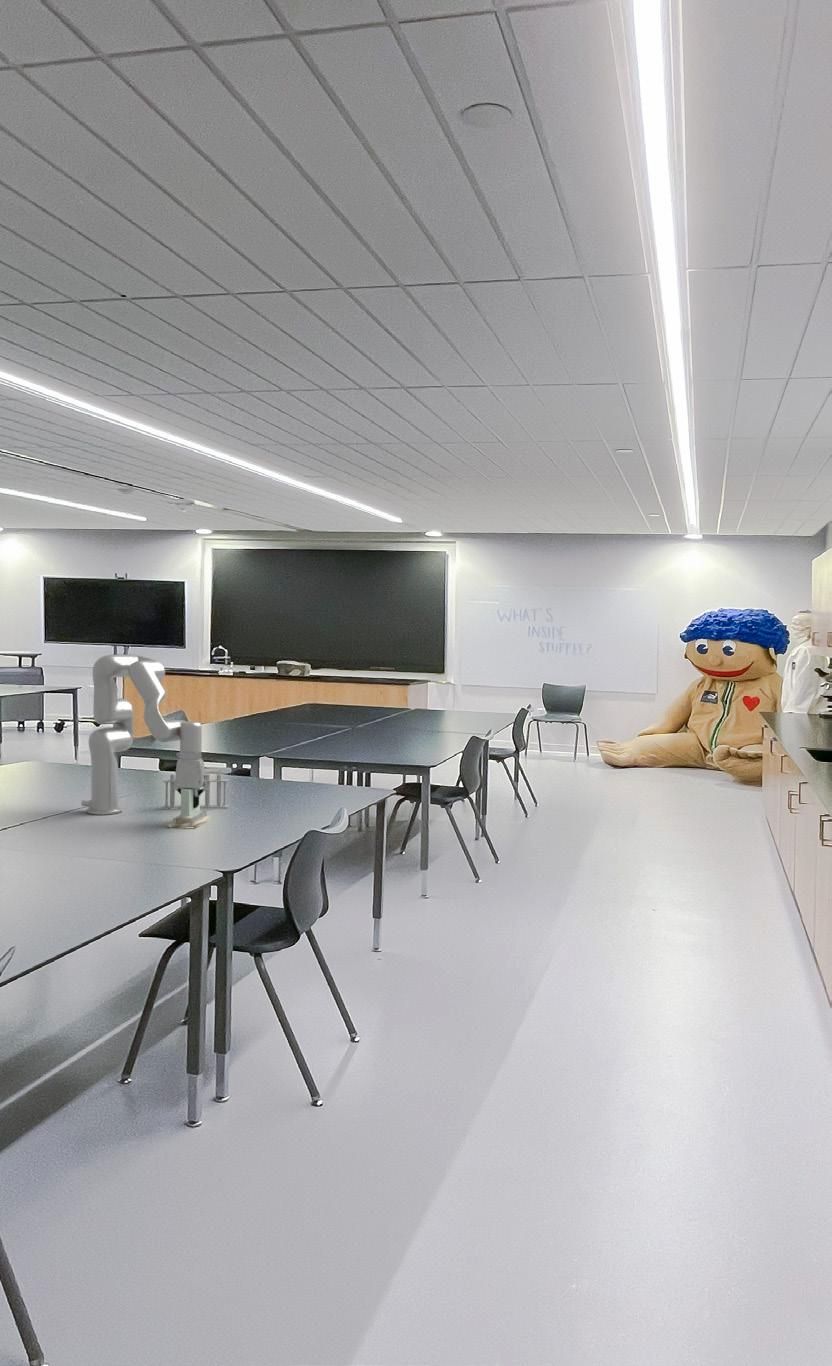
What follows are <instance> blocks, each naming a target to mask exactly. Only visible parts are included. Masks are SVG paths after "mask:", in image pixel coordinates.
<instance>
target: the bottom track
mask: <svg viewBox="0 0 832 1366" xmlns="http://www.w3.org/2000/svg"><path fill="white" fill-rule="evenodd" d="M207 813H208V811H206V810H204V811H202V812H200V813H198V814H196V815H190V816H181V814H179V815H177V816H175V817H173V818H172V821H171V822H170V823H169V824H167V827H168V826H171V827H194V828H196V827H197V828H199V827H200V826H199V825H201V824H202V825H204V824H205V823H204V822H206V821H207V822H209V821H210V819H211V818H212V816H209V815H207ZM208 820H209V821H208ZM211 820H212V819H211ZM207 822H206V823H207ZM203 823H204V824H203ZM202 825H201V826H202ZM198 826H199V827H198ZM197 828H196V829H197Z"/></svg>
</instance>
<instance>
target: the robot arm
mask: <svg viewBox="0 0 832 1366" xmlns="http://www.w3.org/2000/svg"><path fill="white" fill-rule="evenodd" d="M165 675H166V670H165V666H164V665H163V664H162V662H160V661H158V660H156V659H152V658H150V657H145V656H141V655H138V654H132V653H131V654H129V653H128V654H125V653H124V654H120V653H119V654H107V655H103V656H101V657H99V658H98V659H97V660H96V661H95V663H94V664H93V666H92V682H93V705H92V706H93V707H92V708H93V711H92V712H93V714H92V715H93V720H94V721H95V722H96V724H98V725H102V726H104V725H112V727H103V728H98V729H96V730H93V732H92V733H91V734H90V736H89V737H88V747H89V753H90V763H91V767H90V768H91V770H90V771H91V774H90V775H91V776H90V777H91V781H90V782H91V785H90V786H91V787H90V788H91V791H90V792H91V795H90V797H91V799H89V800H85V799H83V800H81V802H80V803H81V806H82V807H88V808H87V809H86V813H87V814H91V815H99V816H101V815H104V816H105V815H113V814H114V815H115V814H119V813H122V812H123V808H122V807H121V806H119V796H118V795H119V793H118V792H119V768H118V767H119V765H118V760H117V758H116V756H115V753H120V752H125V751H128V750H129V749H130V748H131V747H132V745H133V743H134V742H133V740H134V723H135V722H134V717H135V713H134V708H133V705H132V704H131V702H130V701H129V700H127V699H126V698H121V697H119V698H118V692H119V691H118V686H117V683H116V680H115V679H114V678H130V680H131V683H132V684H133V685H134V687H135V689H136V691H137V692H138V695H139V696H140V698H141V700H142V701H143V703H144V707H143V719H144V723H145V726H146V727H147V729H148V730H149V732H150V734H151V735H152V737H153V738H154V739H155V740H157V742H159V743H160V742H161V743H168V742H177V741H179V752H176V753H175V756H176V757H178V758H179V759H177V761H176V768H175V783H174V785H173V789H175V792H176V791H177V793H179V795H181V790H183V789H185V788H191V789H194V793H195V795H194V798H193V807H194V808H196V807H198V805H199V796H200V797H201V795H202V794H203V793H205V791H206V790H208V789H209V787H208V785H207V783H206V775H205V774H206V768H205V767H206V766H205V763H204V762H205V761H204V760H203V759H202V752H203V751H202V750H203V749H202V747H203V746H202V744H203V743H202V738H203V737H202V734H203V733H202V728H203V727H202V724H201V722H200V721H193V720H192V721H190V720H189V721H186V720H184V719H171V720H164V718H163V716H162V714H161V712H160V710H159V704H160V703H161V702H162V701H164V699H165V698H166V696H167V691H166V690H165V688H164V686H163V685H162V683H161V682H162V681H163V680H164V678H165Z"/></svg>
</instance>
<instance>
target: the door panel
mask: <svg viewBox="0 0 832 1366" xmlns="http://www.w3.org/2000/svg"><path fill="white" fill-rule="evenodd" d="M194 795H195V793H194V789H191V788H185V789H183V790H181V794H180V805H181V809H180V815H181V816H190V815H191V816H193V815H194V814H196V813H198V812H199V811H201V809H200V805H201V795H200V796H199V805H198V807H196V808H194V807H193V798H194Z"/></svg>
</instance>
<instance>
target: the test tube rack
mask: <svg viewBox="0 0 832 1366" xmlns="http://www.w3.org/2000/svg"><path fill="white" fill-rule="evenodd" d="M175 774H176V773H175ZM175 774H174V773H173V774H170V776H169V777H170V779H169V778H168V779H165V778H164V779H163V780H162V783H165V804H164V805H162V807H161V809H162V808H163V809H162V810H166V809H165V808H181V804H179V805H176V804H175V803H176V802H175V801H176V800H175V797H176V795H175V794H176V790H175V789H173V785H174V783H175ZM210 775H211V774H210V773H205V776H206V783H207V785H208V787H209V789H208V790H206V791H204V804H200V808H228V809H229V804H227V801H226V800H227V799H226V798H227V796H226V795H227V783H228V782H229V778H222V774H221V773H217V774H216V778H211V776H210ZM211 783H216V804H210V799H211V798H210V797H211V796H210V792H211V791H210V788H211ZM222 783H223V803H222ZM169 784H170V785H169ZM168 785H169V788H168ZM169 789H170V790H169ZM168 791H169V792H168ZM168 793H169V795H170V796H169V795H168ZM168 796H169V797H168ZM168 801H169V802H170V803H169V804H168Z"/></svg>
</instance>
